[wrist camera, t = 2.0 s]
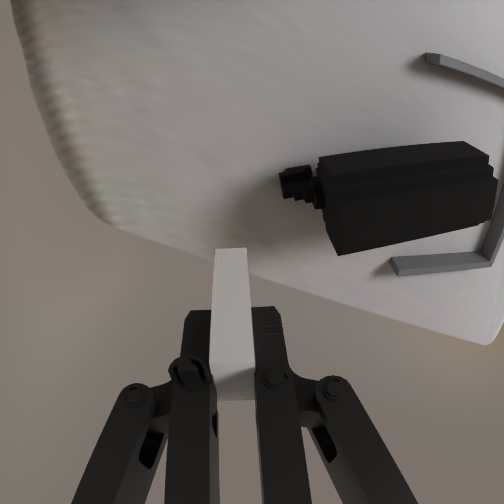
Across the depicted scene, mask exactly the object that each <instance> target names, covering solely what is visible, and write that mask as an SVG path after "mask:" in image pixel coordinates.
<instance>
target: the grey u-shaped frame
mask: <svg viewBox="0 0 504 504" xmlns="http://www.w3.org/2000/svg"><path fill="white" fill-rule="evenodd" d="M426 62H428V63H432V64H435V65H438V66H442V67H445V68H448V69H452V70H455V71H458V72H461V73H464V74H466V75H469V76H472V77H475V78H477V79H480V80H483V81H485V82H488V83H490V84H493V85H495V86H498V87H500V88H502V89H504V79H503V78H501V77H499V76H496V75H494V74H492V73H490V72H487V71H485V70H482V69H480V68H477V67H475V66H472V65H470V64H467V63H464V62H462V61H459V60H456V59H453V58H450V57H447V56H444V55H441V54H434V53H426ZM503 238H504V185H503V189H502V192H501V196H500V199H499V202H498V205H497V208H496V211H495V214H494V217H493V220H492V223H491V226H490V229H489V231H488V234H487V237H486V239H485V242H484V245H483V247H482V250H481V251H479V252H465V253H450V254H435V255H419V256H403V257H392V258H391V261H390V265H391V267H392V268H393V270H394V272H395V273H396V275H397V277H398V276H409V275H420V274H430V273H440V272H450V271H459V270H468V269H477V268H485V267H491V266H492V264H493V262H494V260H495V257H496V255H497V253H498V250H499V248H500V246H501V243H502V241H503Z"/></svg>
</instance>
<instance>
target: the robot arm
mask: <svg viewBox="0 0 504 504" xmlns="http://www.w3.org/2000/svg"><path fill="white" fill-rule="evenodd" d="M168 372H169V374H170V377H171V379H172V380H171V381H169V382H168V383H165V384H163V385H159V386H155V387H151V388H149V387H147V386H146V385H143V384H139V383H134V384H130V385H128V386H127V387H125V388H124V389H123V390H122V391H121V393H120V394H119V396H118V399H117V401H116V403H115V405H114V407H113V409H112V411H111V413H110V415H109V418H108V420H107V422H106V424H105V426H104V428H103V431H102V433H101V435H100V437H99V440H98V442H97V444H96V447H95V448H94V451H93V453H92V455H91V458H90V460H89V462H88V464H87V467H86V469H85V472H84V474H83V476H82V479H81V481H80V483H79V486H78V488H77V491H76V493H75V496H74V498H73V501H72V503H71V504H145V501H146V498H147V495H148V492H149V490H150V487H151V484H152V481H153V478H154V475H155V472H156V469H157V467H158V464H159V461H160V458H161V455H162V453H163V450H164V447H165V444H166V441H167V439H168V446H167V461H166V478H165V501H164V502H165V503H164V504H220V496H219V495H220V494H219V441H218V410H217V400H218V401H227V400H228V401H229V400H253V399H255V407H256V424H257V439H258V453H259V466H260V480H261V493H262V504H312V501H311V494H310V486H309V479H308V472H307V466H306V458H305V452H304V445H303V438H302V431H301V427H307V429H308V431H309V432H310V435H311V437H312V439H313V441H314V444H315V446H316V448H317V450H318V452H319V454H320V456H321V459H322V460H323V463H324V465H325V467H326V469H327V471H328V473H329V475H330V478H331V480H332V482H333V484H334V486H335V488H336V490H337V492H338V494H339V496H340V498H341V500H342V502H343V504H418V503H417V501H416V499H415V497H414V495H413V494H412V492H411V490H410V488H409V486H408V484H407V483H406V481H405V479H404V477H403V475H402V474H401V472H400V470H399V468H398V467H397V465H396V463H395V461H394V459H393V458H392V456H391V454H390V453H389V451H388V449H387V447H386V445H385V444H384V442H383V440H382V438H381V437H380V435H379V433H378V431H377V430H376V428H375V426H374V424H373V423H372V421H371V419H370V418H369V416H368V414H367V412H366V411H365V409H364V407H363V405H362V404H361V402H360V400H359V399H358V397H357V395H356V394H355V392H354V390H353V388H352V387H351V385H350V384H349V383H348V381H347V380H346V379H344V378H342V377H340V376H334V375H332V376H326V377H324V378H322V379H321V380H320V381H316V380H310V379H305V378H302V377H300V376H298V375H296V374H295V373H294V372H293V371H292V370H291V368H290V367H289V363H288V359H287V352H286V346H285V340H284V335H283V328H282V323H281V316H280V314H279V312H278V311H277V310H276V308H275V307H274V306H269V307H251V303H250V289H249V276H248V262H247V249H246V248H227V249H215V262H214V277H213V293H212V310H191V311H190V312H189V314H188V315H187V317H186V319H185V322H184V331H183V339H182V345H181V354H180V357H179V358H177V359H175V360H174V361H173V362H172V363H171V365H170V366H169V369H168Z"/></svg>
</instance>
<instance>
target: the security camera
mask: <svg viewBox="0 0 504 504" xmlns="http://www.w3.org/2000/svg"><path fill="white" fill-rule="evenodd" d="M488 163H489V155H487V154H485V153H484V152H482V151H480V150H479V149H477V148H475V147H473V146H472V145H470V144H468V143H466V142H464V141H456V142H442V143H429V144H418V145H408V146H398V147H389V148H381V149H372V150H365V151H357V152H350V153H343V154H336V155H330V156H324V157H319V163H317V164H318V168H316V171H317V177H312V170H311V166H310V165H304V166H299V167H293V168H288V169H286V172H283V173H279V178H280V184H281V189H282V195H283V198H284V199H286V198H292V197H294V200H295V201H298V200H303V199H304V201H305V203H310V202H312V204H313V206H314V208H315V210H316V209H322V211H323V219H324V221H325V223H326V231H327V234H328V236H329V238H330V240H331V242H332V244H333V246H334V249H335V251H336V253H337V255H338V256H341V255H346V254H351V253H356V252H360V251H365V250H370V249H374V248H379V247H384V246H388V245H393V244H398V243H402V242H407V241H411V240H416V239H420V238H425V237H429V236H434V235H438V234H442V233H447V232H451V231H455V230H460V229H464V228H468V227H473V226H477V225H479V224H480V223H484V222H485V221H487V220H491V217H492V212H493V207H494V202H495V197H496V191H497V185H498V179H496V178H495V177H493V170H494V168H493V167H492V166H490V165H489V164H488Z"/></svg>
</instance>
